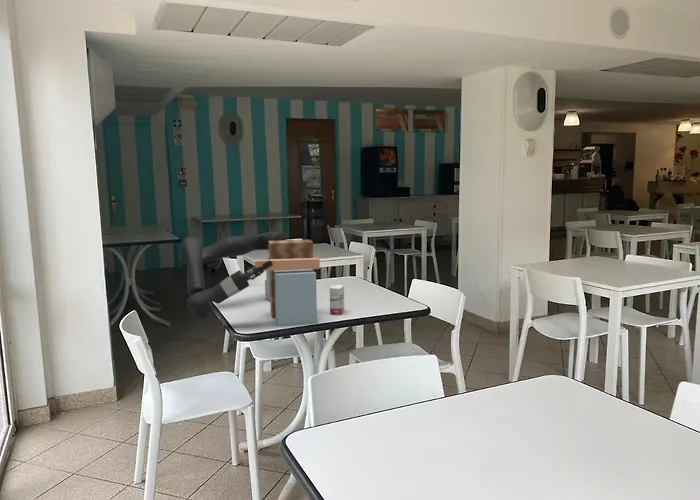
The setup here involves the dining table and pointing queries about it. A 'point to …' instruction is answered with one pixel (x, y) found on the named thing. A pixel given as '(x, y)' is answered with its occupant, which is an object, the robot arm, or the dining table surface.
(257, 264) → the bar
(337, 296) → the ink box
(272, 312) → the plinth
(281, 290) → the grey foam block
